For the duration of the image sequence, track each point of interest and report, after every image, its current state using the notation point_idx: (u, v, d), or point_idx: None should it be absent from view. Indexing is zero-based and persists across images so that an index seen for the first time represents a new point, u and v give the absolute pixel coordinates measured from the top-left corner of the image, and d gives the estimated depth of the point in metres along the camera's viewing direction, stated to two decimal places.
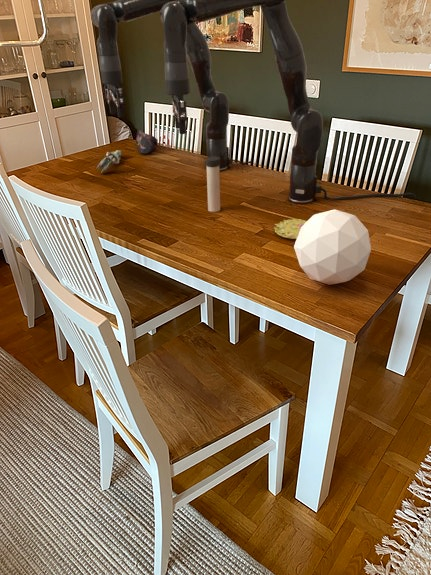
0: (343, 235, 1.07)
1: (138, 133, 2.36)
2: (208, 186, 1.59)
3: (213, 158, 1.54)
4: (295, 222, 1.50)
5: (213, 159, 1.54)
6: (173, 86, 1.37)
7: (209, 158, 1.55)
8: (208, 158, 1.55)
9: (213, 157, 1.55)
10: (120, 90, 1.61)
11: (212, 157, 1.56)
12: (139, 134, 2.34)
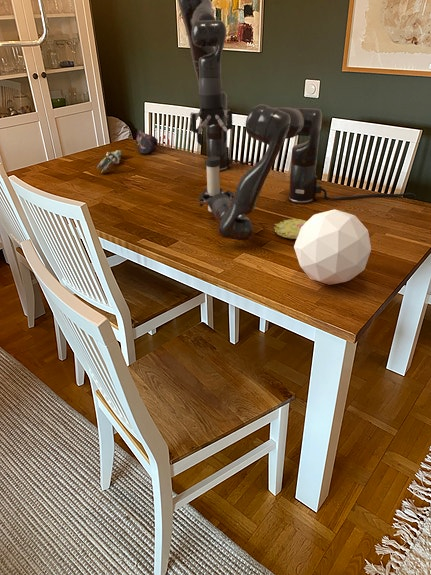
0: (343, 235, 1.07)
1: (138, 133, 2.36)
2: (208, 186, 1.59)
3: (213, 158, 1.54)
4: (295, 222, 1.50)
5: (213, 159, 1.54)
6: None
7: (209, 158, 1.55)
8: (208, 158, 1.55)
9: (213, 157, 1.55)
10: None
11: (212, 157, 1.56)
12: (139, 134, 2.34)
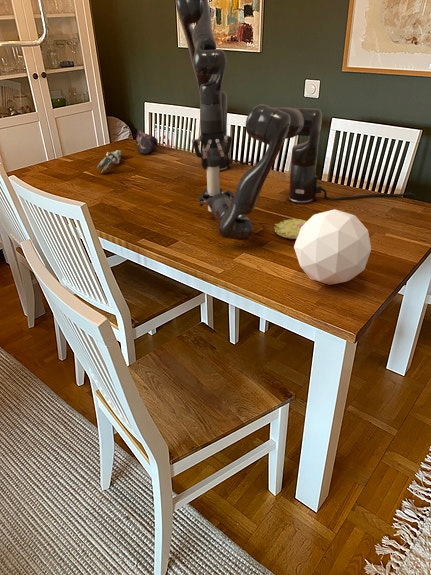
0: (343, 235, 1.07)
1: (138, 133, 2.36)
2: (208, 186, 1.59)
3: (213, 158, 1.54)
4: (295, 222, 1.50)
5: (213, 159, 1.54)
6: None
7: (209, 158, 1.55)
8: (208, 158, 1.55)
9: (213, 157, 1.55)
10: None
11: (212, 157, 1.56)
12: (139, 134, 2.34)
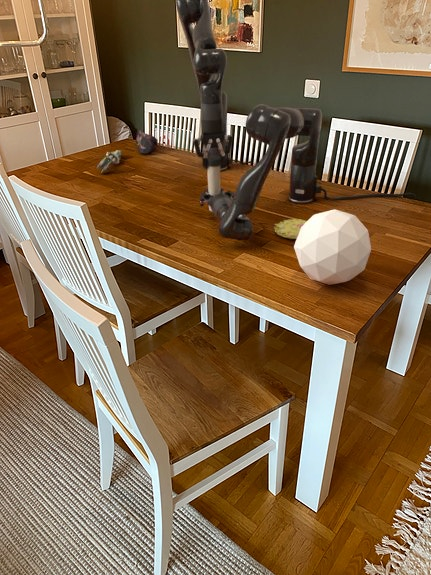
0: (343, 235, 1.07)
1: (138, 133, 2.36)
2: (209, 186, 1.59)
3: (214, 157, 1.55)
4: (295, 222, 1.50)
5: (217, 157, 1.54)
6: None
7: (212, 158, 1.54)
8: (211, 159, 1.53)
9: (211, 157, 1.55)
10: None
11: (210, 157, 1.55)
12: (139, 134, 2.34)
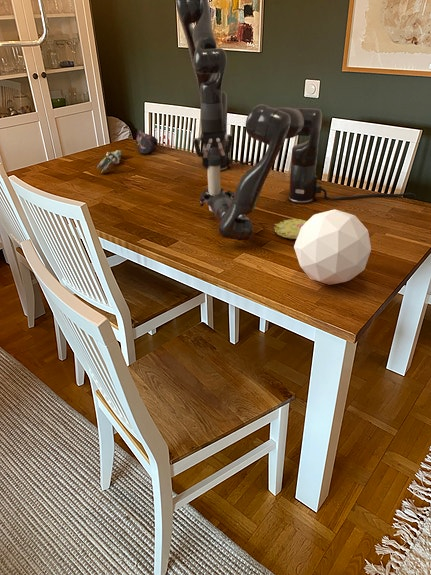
0: (343, 235, 1.07)
1: (138, 133, 2.36)
2: (209, 186, 1.59)
3: (212, 157, 1.55)
4: (295, 222, 1.50)
5: (214, 156, 1.56)
6: None
7: (216, 158, 1.54)
8: (216, 158, 1.54)
9: (211, 158, 1.54)
10: None
11: (211, 158, 1.54)
12: (139, 134, 2.34)
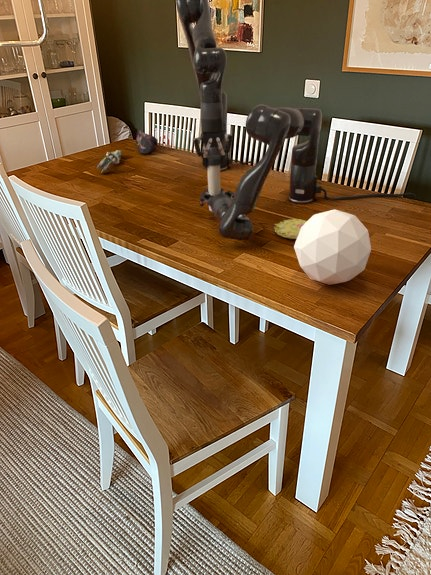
0: (343, 235, 1.07)
1: (138, 133, 2.36)
2: (209, 186, 1.59)
3: (211, 157, 1.54)
4: (295, 222, 1.50)
5: (210, 156, 1.55)
6: None
7: (215, 156, 1.55)
8: (216, 156, 1.55)
9: (214, 157, 1.54)
10: None
11: (215, 157, 1.54)
12: (139, 134, 2.34)
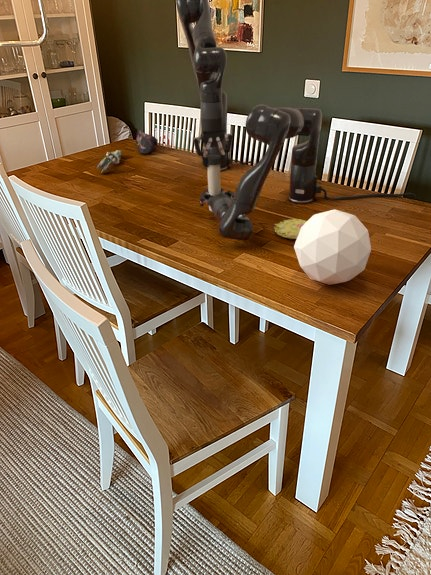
0: (343, 235, 1.07)
1: (138, 133, 2.36)
2: (209, 186, 1.59)
3: (213, 157, 1.54)
4: (295, 222, 1.50)
5: (210, 157, 1.54)
6: None
7: (212, 156, 1.55)
8: (211, 155, 1.56)
9: (215, 156, 1.54)
10: None
11: (216, 156, 1.55)
12: (139, 134, 2.34)
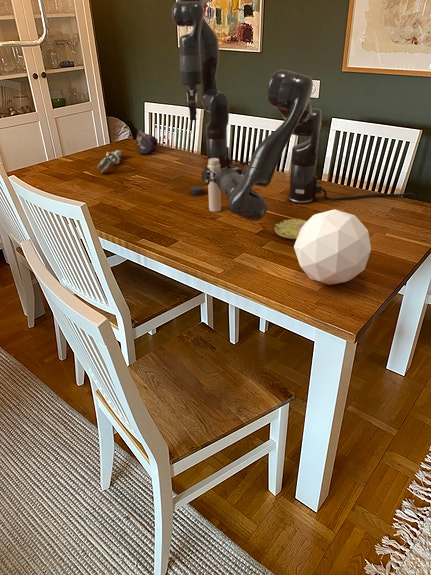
0: (343, 235, 1.07)
1: (138, 133, 2.36)
2: (209, 186, 1.59)
3: (197, 188, 1.78)
4: (295, 222, 1.50)
5: (197, 189, 1.78)
6: None
7: (193, 188, 1.78)
8: (193, 188, 1.78)
9: (197, 187, 1.79)
10: None
11: (196, 187, 1.80)
12: (139, 134, 2.34)
